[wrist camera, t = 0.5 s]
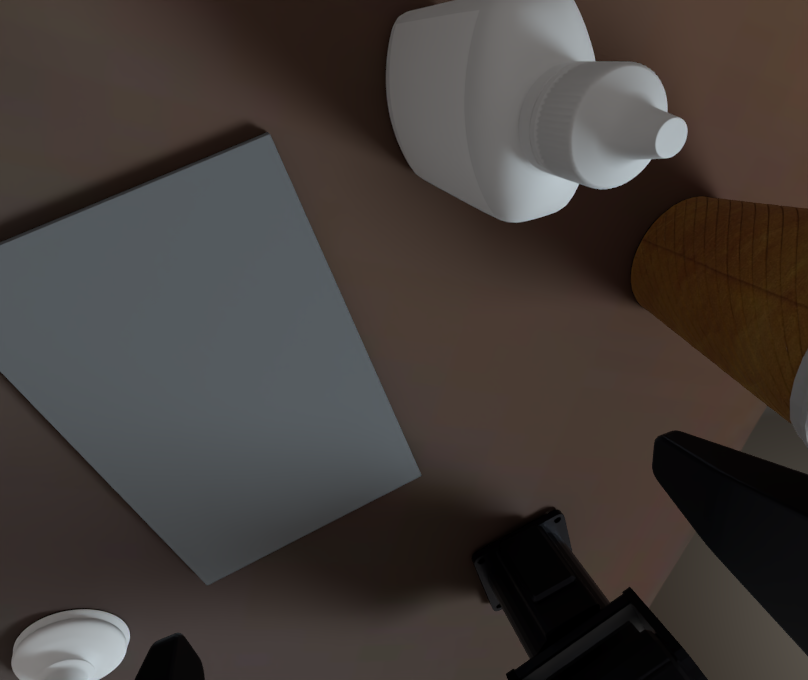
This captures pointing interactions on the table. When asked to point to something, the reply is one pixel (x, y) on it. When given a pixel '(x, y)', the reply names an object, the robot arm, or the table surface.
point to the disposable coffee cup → (735, 292)
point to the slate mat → (203, 359)
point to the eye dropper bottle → (520, 106)
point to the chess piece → (71, 646)
